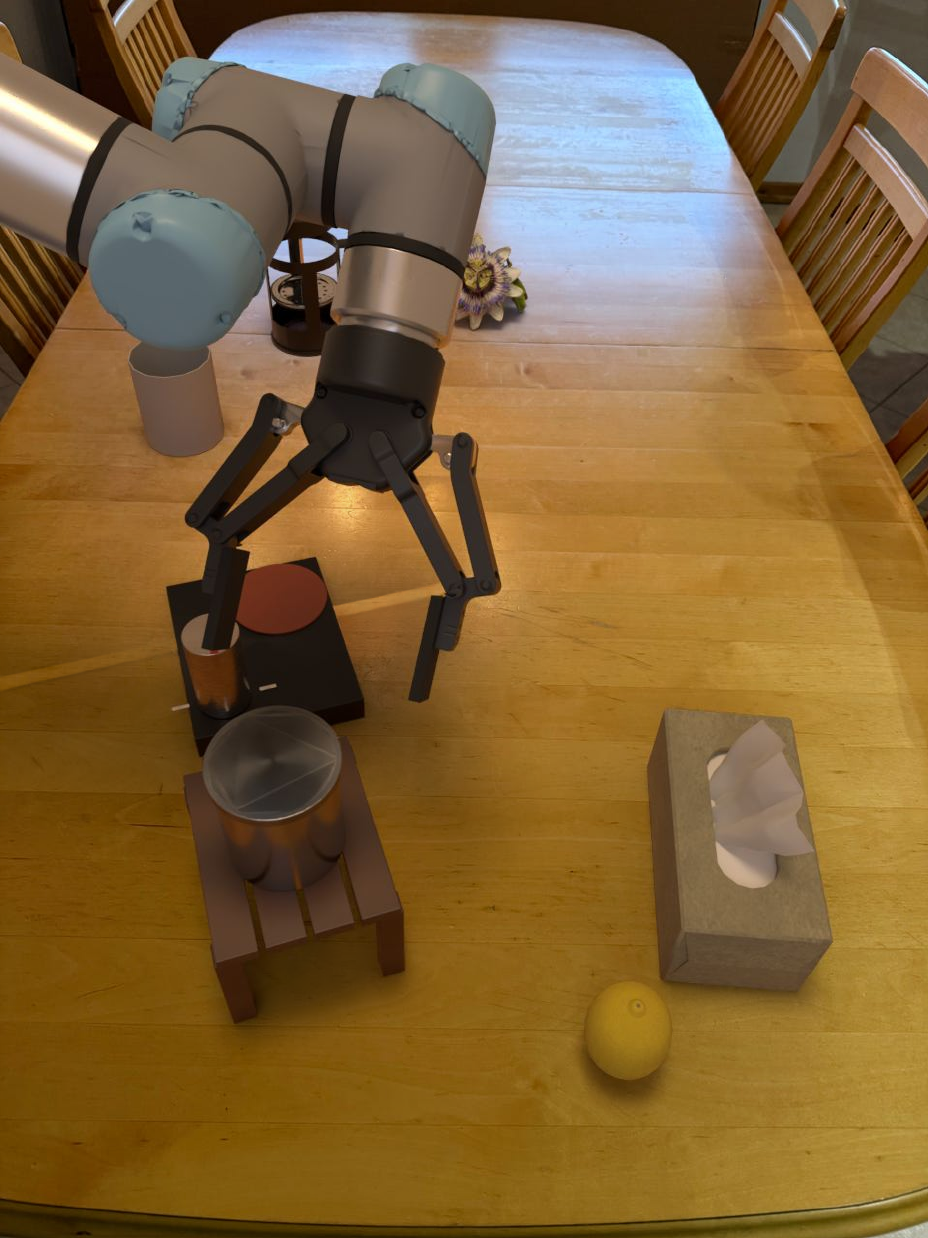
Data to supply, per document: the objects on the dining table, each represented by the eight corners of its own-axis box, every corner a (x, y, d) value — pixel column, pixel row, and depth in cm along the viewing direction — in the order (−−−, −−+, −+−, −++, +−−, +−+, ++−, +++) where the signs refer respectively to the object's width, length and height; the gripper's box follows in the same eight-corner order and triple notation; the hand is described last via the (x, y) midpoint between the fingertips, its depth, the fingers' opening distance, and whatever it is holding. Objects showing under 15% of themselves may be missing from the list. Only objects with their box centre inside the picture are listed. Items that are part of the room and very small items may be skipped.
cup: (131, 437, 109) (110, 358, 102) (185, 402, 114) (169, 324, 107) (186, 466, 106) (168, 387, 99) (239, 429, 111) (227, 351, 103)
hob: (156, 607, 92) (150, 587, 90) (317, 574, 96) (315, 555, 94) (184, 769, 80) (179, 750, 78) (367, 724, 84) (366, 705, 82)
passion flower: (473, 363, 131) (424, 307, 122) (460, 307, 137) (412, 249, 127) (547, 321, 127) (503, 259, 118) (531, 265, 133) (487, 202, 123)
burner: (221, 575, 92) (221, 574, 92) (315, 557, 94) (315, 555, 94) (238, 644, 86) (238, 642, 86) (337, 622, 88) (337, 621, 88)
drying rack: (202, 849, 75) (179, 775, 68) (356, 808, 78) (350, 734, 71) (234, 1027, 66) (211, 964, 59) (406, 973, 69) (405, 907, 62)
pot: (214, 803, 67) (192, 723, 60) (333, 773, 69) (324, 692, 62) (235, 912, 61) (213, 837, 55) (363, 875, 63) (357, 799, 57)
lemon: (658, 1104, 64) (682, 1060, 58) (573, 1087, 65) (588, 1042, 59) (661, 1019, 68) (684, 970, 62) (581, 1004, 68) (596, 954, 62)
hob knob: (194, 684, 83) (176, 616, 77) (246, 672, 84) (233, 605, 78) (202, 724, 80) (184, 658, 74) (256, 711, 81) (243, 645, 75)
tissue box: (799, 997, 69) (877, 889, 58) (660, 985, 69) (708, 875, 58) (764, 772, 82) (821, 647, 70) (646, 762, 82) (684, 636, 71)
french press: (272, 361, 120) (249, 170, 103) (260, 321, 126) (236, 134, 109) (367, 348, 123) (359, 160, 106) (350, 310, 129) (340, 126, 112)
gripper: (589, 389, 62) (515, 715, 64) (226, 320, 67) (162, 627, 68) (583, 361, 55) (499, 729, 56) (175, 285, 59) (104, 630, 60)
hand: (315, 674), depth 62 cm, fingers open, 13 cm apart
